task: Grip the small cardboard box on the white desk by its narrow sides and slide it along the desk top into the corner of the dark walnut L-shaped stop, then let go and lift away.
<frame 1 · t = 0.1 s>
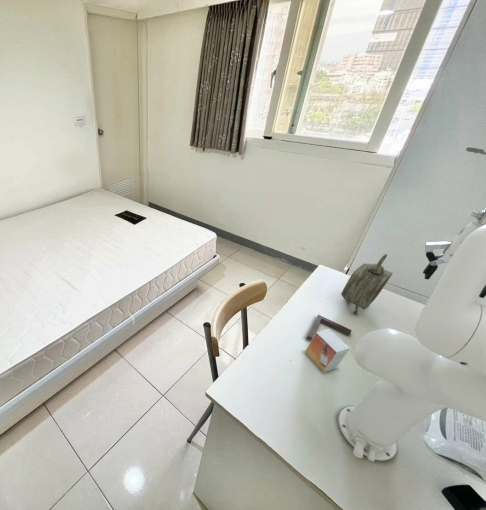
hand: (452, 285, 66), 37 cm above the table, tool pointing down, fingers open, 9 cm apart
corner stop: (327, 333, 99), on the table
small box: (319, 360, 90), on the table
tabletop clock: (352, 304, 112), on the table
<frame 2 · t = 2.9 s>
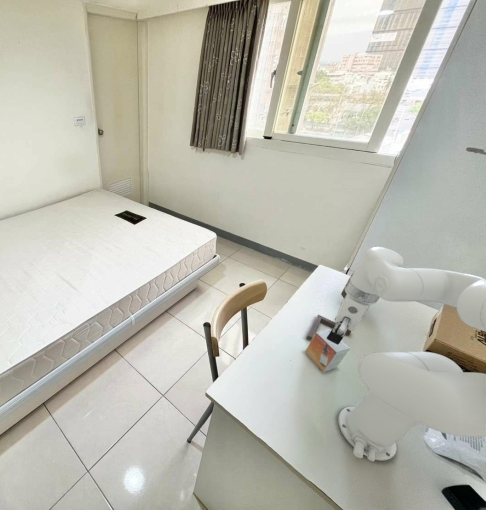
hand: (336, 331, 83), 14 cm above the table, tool pointing down, fingers open, 9 cm apart
nothing on the table moved.
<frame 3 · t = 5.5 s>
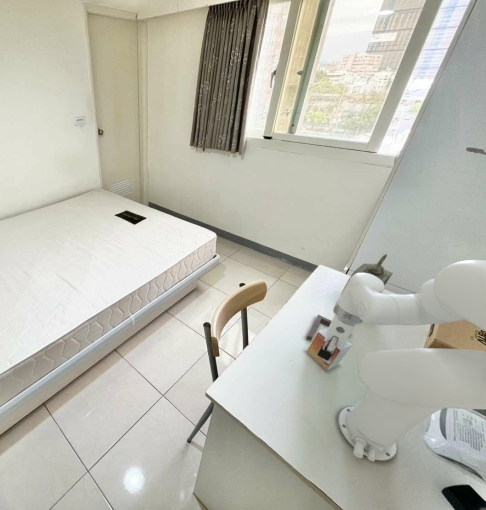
hand: (326, 348, 88), 5 cm above the table, tool pointing down, fingers open, 7 cm apart
small box: (321, 358, 91), on the table, touching gripper
everything else where it was.
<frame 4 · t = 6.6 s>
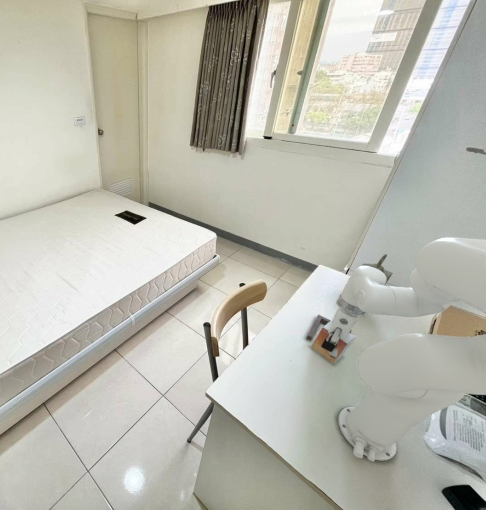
hand: (329, 340, 91), 4 cm above the table, tool pointing down, fingers open, 7 cm apart
small box: (325, 352, 93), on the table, touching gripper
everything else where it was.
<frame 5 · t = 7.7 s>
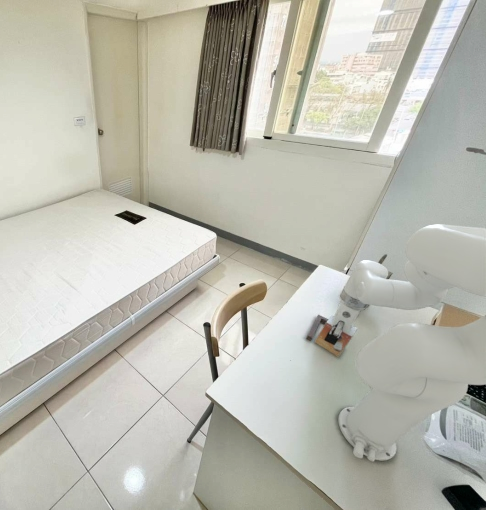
hand: (332, 334, 93), 4 cm above the table, tool pointing down, fingers open, 7 cm apart
small box: (328, 345, 95), on the table, touching gripper
everything else where it was.
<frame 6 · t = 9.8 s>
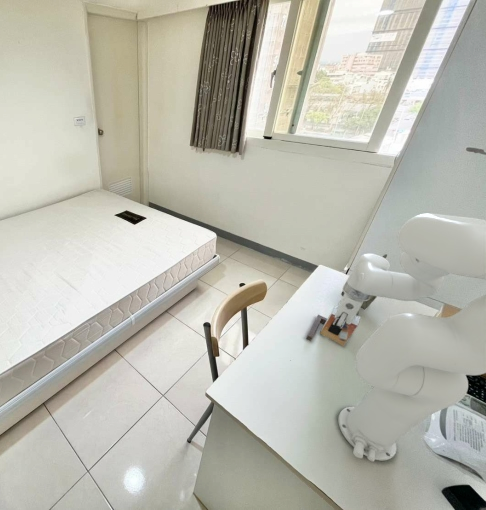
hand: (335, 327, 97), 4 cm above the table, tool pointing down, fingers closed on small box, 5 cm apart
small box: (333, 336, 99), on the table, touching gripper
everything else where it was.
when the fingers open (4 cm above the table, at t = 9.8 s): small box stays where it is, on the table.
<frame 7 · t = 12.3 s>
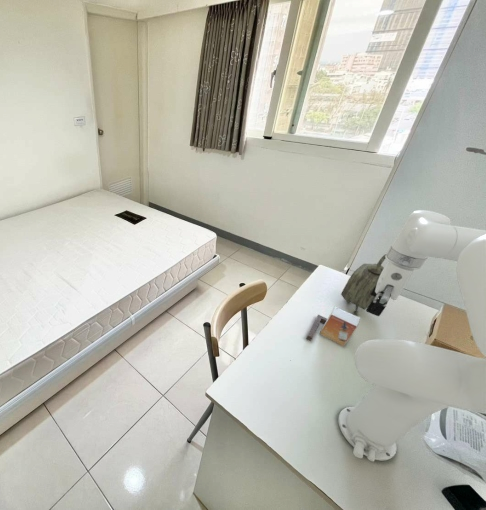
hand: (374, 304, 81), 22 cm above the table, tool pointing down, fingers open, 9 cm apart
small box: (333, 336, 99), on the table
everything else where it was.
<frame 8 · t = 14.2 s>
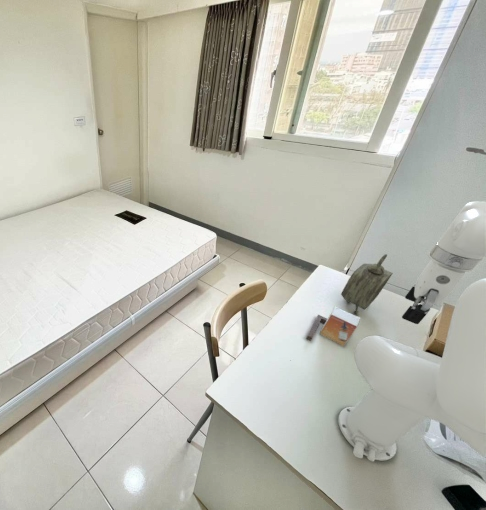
hand: (410, 310, 70), 28 cm above the table, tool pointing down, fingers open, 9 cm apart
nothing on the table moved.
at the end: small box 0.6 cm from the target spot, on the table; small box tilted 0°; the gripper is holding nothing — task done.
